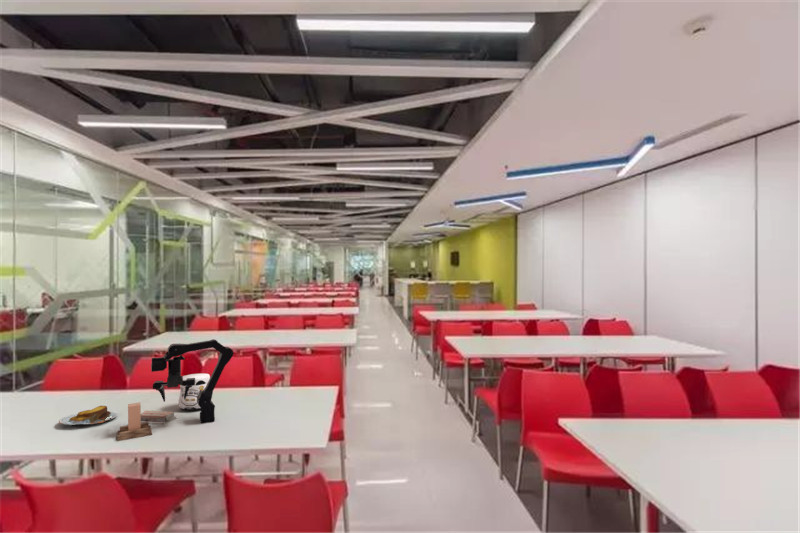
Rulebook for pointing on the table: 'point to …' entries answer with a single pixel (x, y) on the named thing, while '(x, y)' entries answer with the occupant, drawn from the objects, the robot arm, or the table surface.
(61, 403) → the table surface
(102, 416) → the food on plate
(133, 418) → the clay bar
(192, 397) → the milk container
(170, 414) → the packaged product
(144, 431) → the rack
